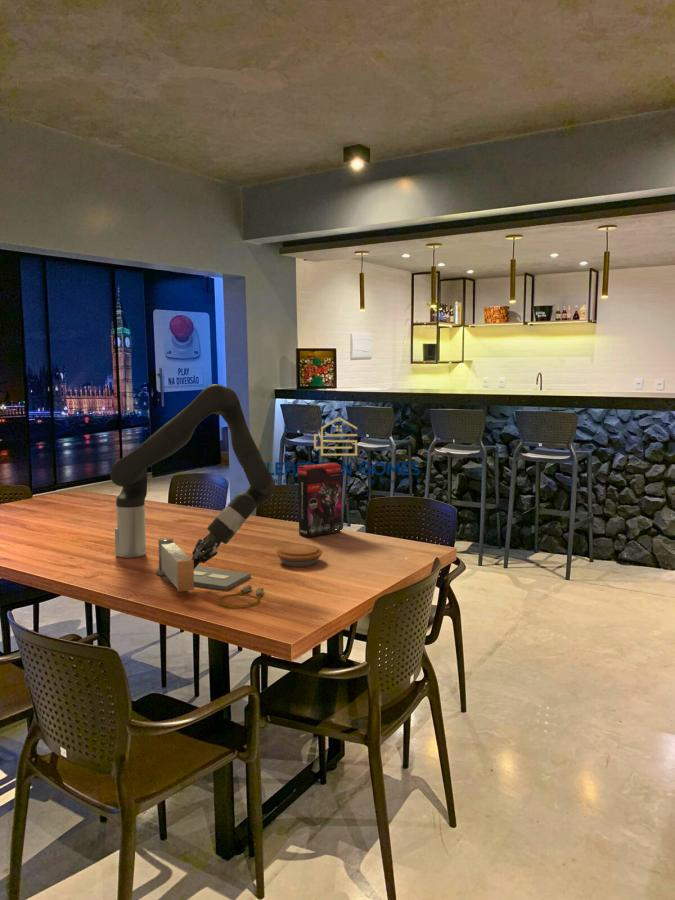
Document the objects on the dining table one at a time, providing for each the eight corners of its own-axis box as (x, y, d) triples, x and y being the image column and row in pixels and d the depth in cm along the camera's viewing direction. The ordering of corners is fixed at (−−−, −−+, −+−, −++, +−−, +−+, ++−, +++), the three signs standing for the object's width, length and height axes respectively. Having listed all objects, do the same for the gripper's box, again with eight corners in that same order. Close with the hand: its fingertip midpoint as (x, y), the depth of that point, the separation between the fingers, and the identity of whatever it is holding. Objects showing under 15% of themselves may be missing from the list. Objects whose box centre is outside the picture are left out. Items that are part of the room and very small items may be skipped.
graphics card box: (307, 538, 259) (307, 467, 255) (296, 535, 264) (297, 465, 261) (342, 532, 269) (343, 464, 266) (331, 529, 274) (332, 462, 271)
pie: (305, 553, 238) (305, 539, 237) (331, 563, 225) (331, 549, 225) (267, 560, 229) (267, 546, 228) (292, 571, 216) (292, 556, 216)
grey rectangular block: (157, 567, 214) (157, 539, 213) (171, 565, 216) (171, 537, 215) (178, 592, 190) (177, 561, 188) (194, 590, 191) (193, 559, 190)
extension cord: (279, 599, 191) (279, 592, 191) (235, 613, 179) (235, 606, 179) (251, 589, 199) (251, 582, 199) (207, 602, 188) (207, 595, 187)
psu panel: (144, 577, 208) (144, 573, 207) (172, 566, 220) (172, 561, 220) (226, 590, 197) (226, 585, 196) (250, 577, 209) (250, 572, 209)
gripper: (210, 512, 208) (172, 557, 203) (224, 521, 196) (184, 568, 192) (228, 527, 211) (190, 572, 206) (242, 536, 199) (203, 584, 195)
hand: (187, 570), depth 199 cm, fingers closed
